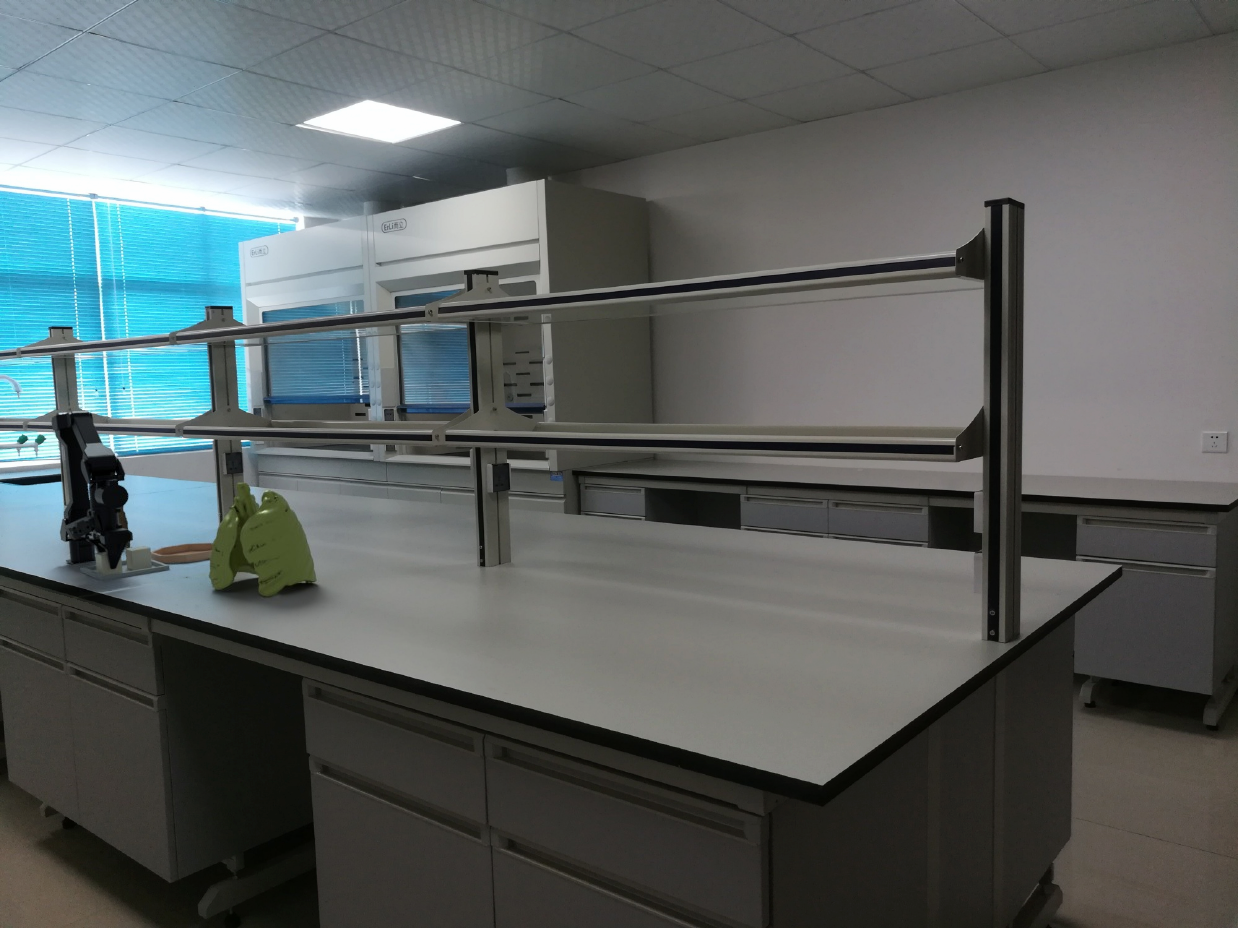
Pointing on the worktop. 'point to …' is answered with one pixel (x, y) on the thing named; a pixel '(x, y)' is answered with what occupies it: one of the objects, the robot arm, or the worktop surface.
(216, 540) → the lungs
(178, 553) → the bowl
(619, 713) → the worktop surface
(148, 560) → the block
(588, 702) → the worktop surface
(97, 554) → the block
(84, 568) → the parts tray
